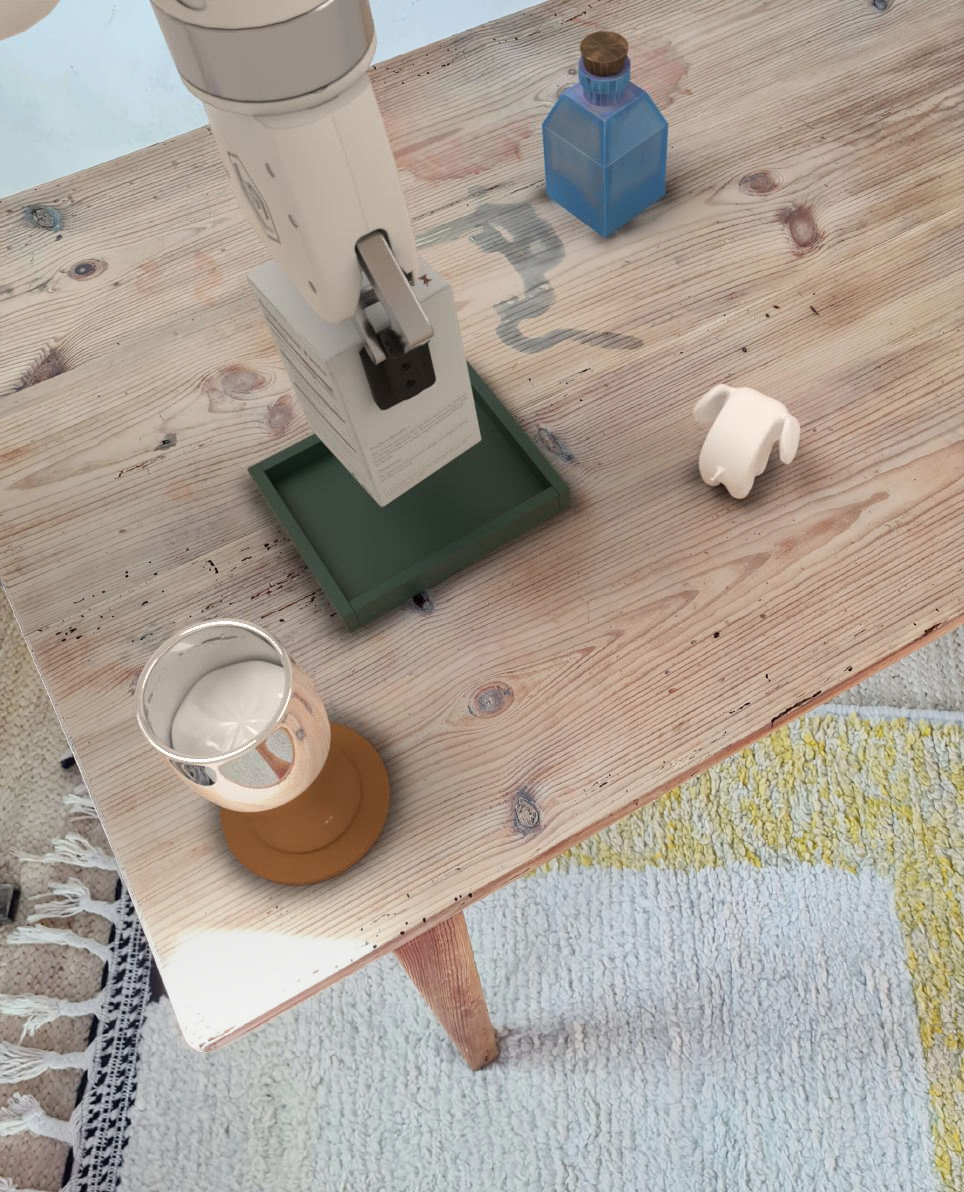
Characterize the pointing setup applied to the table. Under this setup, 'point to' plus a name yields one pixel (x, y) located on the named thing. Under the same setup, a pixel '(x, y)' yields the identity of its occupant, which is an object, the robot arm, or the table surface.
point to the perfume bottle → (605, 140)
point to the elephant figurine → (742, 436)
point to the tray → (409, 513)
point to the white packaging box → (343, 396)
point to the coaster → (338, 852)
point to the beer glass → (248, 732)
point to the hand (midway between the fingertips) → (365, 338)
